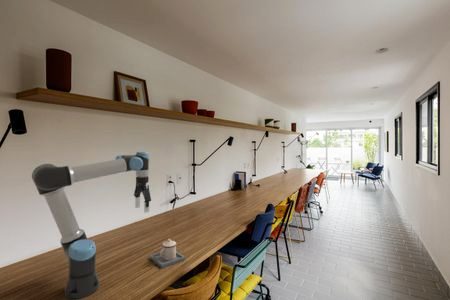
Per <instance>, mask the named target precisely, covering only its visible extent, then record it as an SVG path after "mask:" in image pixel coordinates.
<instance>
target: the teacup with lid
mask: <svg viewBox="0 0 450 300" xmlns="http://www.w3.org/2000/svg"><path fill="white" fill-rule="evenodd" d="M161 246H162V247H161V250H160V251H159V252H160V256H161V257H162V258H163V259H164V260H173V259H175V258H176V251H177V242H176V241H175V240H172V239H170V238H168V239H167V240H166V241H163V243H162V244H161Z"/></svg>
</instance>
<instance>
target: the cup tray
mask: <svg viewBox="0 0 450 300" xmlns="http://www.w3.org/2000/svg"><path fill="white" fill-rule="evenodd" d="M149 260H151V262H153V263H155V264H156V265H157V266H158V267H160V269H164V268H167V267H169V266H171V265H174V264H177V263H180V262H183V261H185V260H186V256H185V255H183V254H182V253H180V252H179V251H177V250H176V258H175V259H173V260H164V259H163V258H162V257H161V256H160V251H158V252H156V253H152V254H149Z"/></svg>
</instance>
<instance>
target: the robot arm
mask: <svg viewBox="0 0 450 300" xmlns="http://www.w3.org/2000/svg"><path fill="white" fill-rule="evenodd" d="M149 160H150V155H149V152H148V151H137V152H135V154H132V155H130V154H124V155H123V154H122V155H116V156H115V159H112V160H105V161H100V162H95V163H89V164H88V163H87V164H83V165H75V166H73V167H71V166H70V165H65V166H57V165H55V164H52V163H43V164H41V165H38V166H36V167H35V168H34V170H33V171H32V173H31V178H32V181H33V183H34V185H35V188H36V190H37V191H38V195H40V196H42V197H44V199H45V201H46V204H47V206H48V208H49V210H50V213H51V215H52V218H53V219H54V222H55V224H56V227H57V228H58V231H59V233H60V236H61V238H60V239H59V242H60V244H61V247H62V249H63V252H64V254H65V257H66V259H67V261H68V278H67V281H66V284H65V288H64V296H65V297H66V298H68V299H71V300H72V299H74V300H75V299H82V298H86V297H88V296H90V295H92V294H94V293H95V292H97V291H98V289H99V288H100V278H99V276H98V275H97V272H96V266H97V265H96V261H97V260H96V259H97V258H96V257H97V256H96V252H97V247H96V243H95V242H94V240H91V239H88V237H87V235H86V232H85V229H82V228H80V225H79V223H78V221H77V219H76V215H75V214H74V211H73V209H72V207H71V204H70V202H69V199H68V197H67V194H66V192H65V188H66V187H69V186H72V185H73V184H74V183H78V182H83V181H87V180H92V179H93V180H94V179H98V178H101V177H102V178H103V177H106V176H111V175H116V174H120V173H124V172H126V173H127V172H131V171H133V172H135V187H134V188H135V189H134V193H133V196H134V199H135V203H134V206H135V207H134V208H135V209H137V208H140V207H141V194H142V195H143V199H144V201H143V203H144V204H143V205H144V206H143V208H144V213H149V212H150V202H151V201H152V199H151V198H152V197H151V191H150V186H149V184H147V183H149V181H150V180H149V179H150V178H149V172H150V171H149V165H150V161H149Z"/></svg>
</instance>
